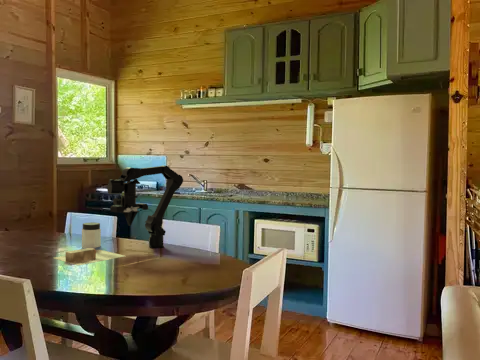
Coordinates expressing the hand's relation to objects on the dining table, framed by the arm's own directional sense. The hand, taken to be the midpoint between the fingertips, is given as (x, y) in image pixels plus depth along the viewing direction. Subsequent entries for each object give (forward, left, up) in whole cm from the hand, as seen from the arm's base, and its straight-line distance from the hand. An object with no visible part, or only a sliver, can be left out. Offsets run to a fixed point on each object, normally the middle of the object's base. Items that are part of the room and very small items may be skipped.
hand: (129, 225), depth 217 cm
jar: (+17, -11, -12) cm, 24 cm away
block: (+18, +14, -9) cm, 25 cm away
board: (+19, +13, -12) cm, 26 cm away
